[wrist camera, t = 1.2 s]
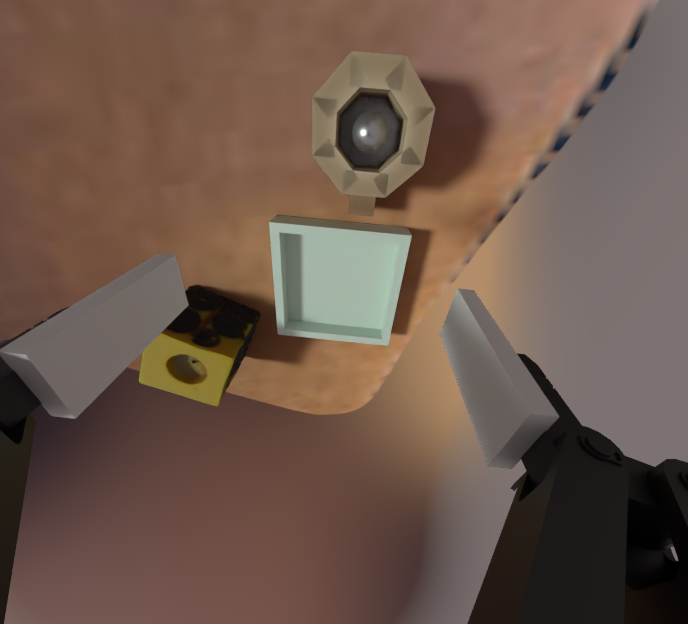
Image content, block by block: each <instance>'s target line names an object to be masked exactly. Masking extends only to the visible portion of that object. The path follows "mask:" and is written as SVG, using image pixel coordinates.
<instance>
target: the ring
mask: <svg viewBox="0 0 688 624" xmlns="http://www.w3.org/2000/svg"><path fill="white" fill-rule="evenodd" d="M360 96H365V97H377V98H386V99H387V101H388V102H389V104H390V106H391V107H392V109H393V110H394V112H395V114H396V115H397V117H398V119H399V120H400V128H399V134H398V141H397V147H396V151H395V152H393V153H392V154H391V155H390V156H389V157H388V158H387V159H386V160H385V161H383V162H382V163H381V164H380V165H379V166H378V167H370V166H359V165H354V163H353V162H352V161H351V159H350V158H349V156H348V155H347V154H346V152H345V151H344V150H343V148H342V147H341V146H340V138H341V121H342V116H343V115H344V114H345V112H346V111H347V110H348V109H349V108H350V107H351V106H352V105H353V104H354V103H355V102H356V101H357V100H358V99H359V97H360ZM434 112H435V106H434V105H433V103H432V101H431V99H430V97H429V95H428V94H427V92H426V90H425V88H424V86H423V85H422V83H421V81H420V79H419V77H418V76H417V74H416V72H415V70H414V68H413V67H412V65H411V63H410V61H409V59H408V57H407V56H403V55H391V54H380V53H368V52H357V51H351V52H350V54H349V55H348V56H347V57H346V58H345V59H344V61H343V62H342V63H341V64H340V65H339V66H338V68H337V69H336V70H335V71H334V72H333V73H332V75H331V76H330V77H329V78H328V79H327V81H326V82H325V83H324V84H323V85H322V86H321V88H320V89H319V90H318V91H317V92H316V93H315V95H314V96H313V97H312V156H313V158H314V159H315V160H316V162H317V163H318V164H319V165H320V167H321V168H322V169H323V170H324V172H325V173H326V174H327V175H328V177H329V178H330V179H331V180H332V182H333V183H334V184H335V186H336V187H337V188H338V189H339V191H340V192H341V193H342V194H349V195H350V207H349V214H353V215H363V216H373V215H374V207H375V200H376V197H381V198H386V197H387V196H388V195H389V194H391V193H392V192H393V191H394V190H395V189H396V188H398V187H399V186H400V185H401V184H402V183H404V182H405V181H406V180H407V179H408V178H410V177H411V176H412V175H413V174H414V173H416V172H417V171H418V170H419V169H420V168H421V167H423V165H424V160H425V155H426V151H427V146H428V141H429V136H430V132H431V127H432V122H433V117H434Z"/></svg>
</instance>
